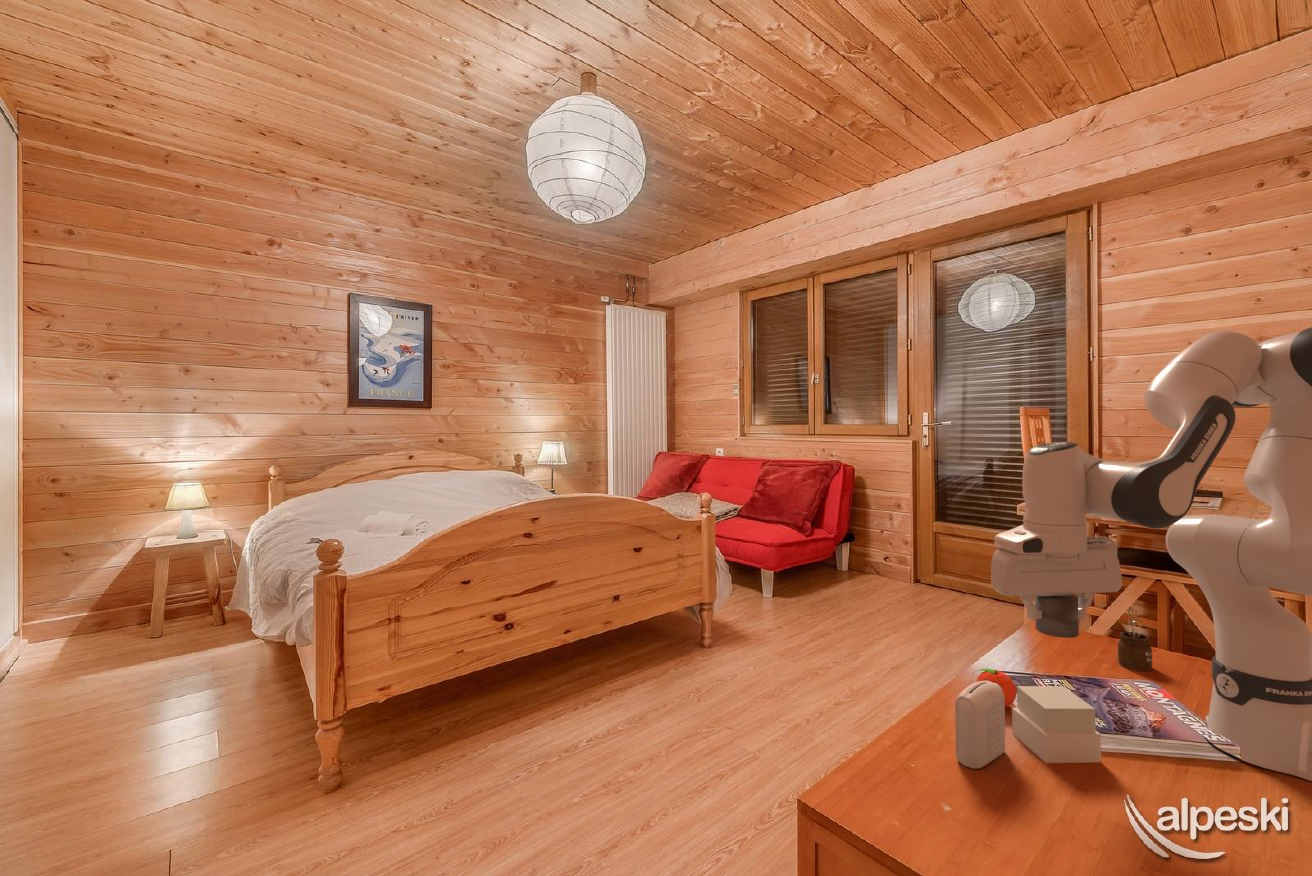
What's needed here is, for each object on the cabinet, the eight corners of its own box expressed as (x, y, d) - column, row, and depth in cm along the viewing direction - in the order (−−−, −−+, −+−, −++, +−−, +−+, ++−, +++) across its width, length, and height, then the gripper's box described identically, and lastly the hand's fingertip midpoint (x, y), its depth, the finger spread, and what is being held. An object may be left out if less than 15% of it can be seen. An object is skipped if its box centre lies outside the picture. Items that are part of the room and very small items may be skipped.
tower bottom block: (1062, 734, 101) (1062, 706, 101) (1101, 764, 92) (1100, 734, 92) (1012, 734, 102) (1011, 707, 101) (1045, 764, 93) (1045, 735, 92)
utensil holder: (1119, 668, 126) (1118, 615, 126) (1116, 658, 131) (1115, 607, 131) (1154, 674, 123) (1153, 619, 122) (1149, 663, 128) (1149, 611, 128)
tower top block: (1063, 708, 101) (1063, 686, 101) (1095, 732, 93) (1095, 708, 93) (1017, 708, 101) (1017, 686, 101) (1045, 732, 93) (1044, 708, 93)
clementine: (964, 703, 113) (963, 668, 113) (978, 692, 117) (978, 658, 117) (1009, 718, 107) (1008, 681, 106) (1022, 706, 111) (1021, 670, 111)
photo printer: (983, 740, 100) (982, 671, 99) (1009, 751, 96) (1008, 680, 96) (952, 761, 94) (950, 688, 94) (978, 773, 90) (976, 698, 90)
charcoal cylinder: (1061, 624, 99) (1060, 590, 98) (1087, 636, 93) (1087, 601, 92) (1027, 625, 99) (1026, 591, 98) (1052, 638, 93) (1051, 602, 92)
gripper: (1101, 532, 98) (1103, 610, 99) (984, 536, 98) (986, 614, 99) (1131, 539, 92) (1133, 622, 92) (1006, 544, 92) (1009, 627, 92)
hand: (1056, 618), depth 96 cm, fingers closed on charcoal cylinder, 6 cm apart
